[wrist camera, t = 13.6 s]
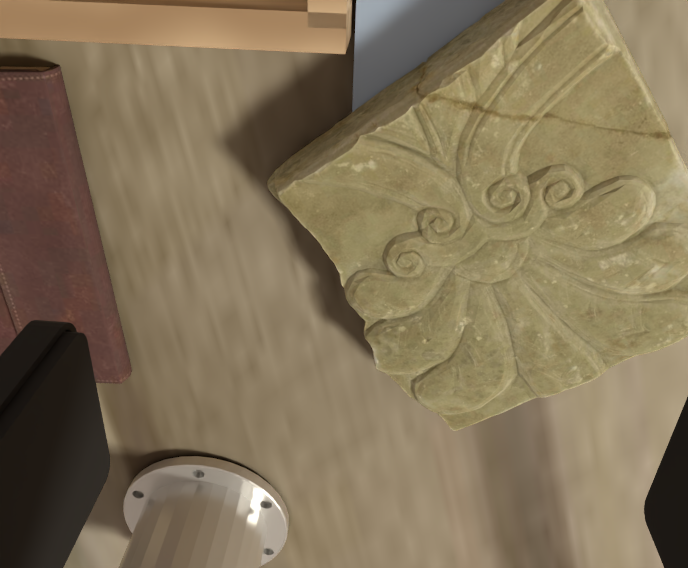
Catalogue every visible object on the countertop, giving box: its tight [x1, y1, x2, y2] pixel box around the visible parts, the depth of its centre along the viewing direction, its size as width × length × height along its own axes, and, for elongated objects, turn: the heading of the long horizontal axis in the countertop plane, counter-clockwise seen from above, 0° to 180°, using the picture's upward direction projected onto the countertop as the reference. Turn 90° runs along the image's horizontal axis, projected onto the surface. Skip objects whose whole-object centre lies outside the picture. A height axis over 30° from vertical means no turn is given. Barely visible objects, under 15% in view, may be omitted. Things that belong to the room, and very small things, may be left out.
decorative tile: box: [267, 0, 688, 431], centre depth 34 cm, size 19×6×20 cm
